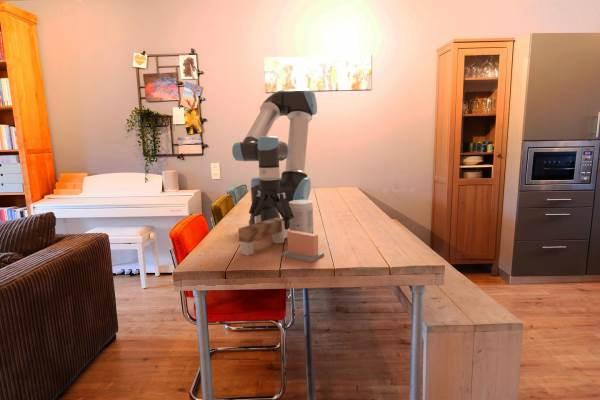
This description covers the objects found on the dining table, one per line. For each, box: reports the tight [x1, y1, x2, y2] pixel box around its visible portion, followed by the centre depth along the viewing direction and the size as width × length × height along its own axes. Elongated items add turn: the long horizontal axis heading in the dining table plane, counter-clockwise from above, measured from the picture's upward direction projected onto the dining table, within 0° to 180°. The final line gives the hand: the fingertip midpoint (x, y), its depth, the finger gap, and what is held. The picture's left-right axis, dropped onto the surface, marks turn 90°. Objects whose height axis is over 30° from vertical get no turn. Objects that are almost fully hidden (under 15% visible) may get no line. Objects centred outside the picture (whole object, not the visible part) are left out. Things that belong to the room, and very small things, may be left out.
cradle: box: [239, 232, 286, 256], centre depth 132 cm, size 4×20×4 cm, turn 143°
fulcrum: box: [281, 230, 325, 264], centre depth 121 cm, size 12×8×8 cm, turn 53°
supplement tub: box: [289, 199, 314, 234], centre depth 143 cm, size 10×10×15 cm
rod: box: [238, 217, 283, 243], centre depth 131 cm, size 20×4×4 cm, turn 143°
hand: (271, 234), depth 135 cm, fingers open, 13 cm apart
